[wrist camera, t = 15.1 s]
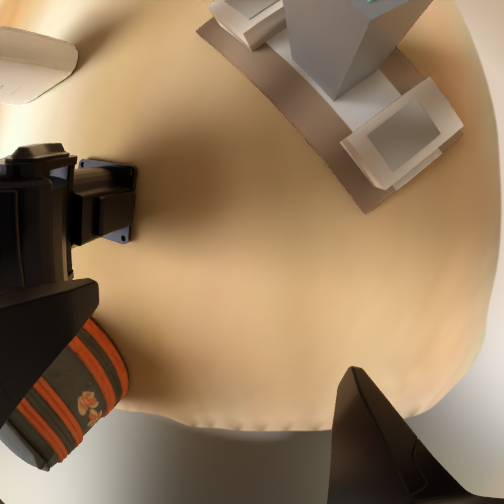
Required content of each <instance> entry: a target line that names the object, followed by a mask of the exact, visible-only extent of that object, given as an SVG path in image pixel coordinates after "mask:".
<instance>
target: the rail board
mask: <svg viewBox="0 0 504 504" xmlns="http://www.w3.org/2000/svg"><path fill="white" fill-rule="evenodd" d="M207 8H208V9H209V11H210V12H211V13H212V15H213V16H214V17H213V18H211V19H210V20H209V21H208V22H206V23H205V24H204V25H203V26H201V27H200V28H199V29H198V30H197V31H196V32H197V33H198V35H199V36H201V37H202V38H203V39H204V40H206V41H207V42H208V43H209V44H210V45H212V46H213V47H214V48H215V49H216V50H217V51H219V52H220V53H221V54H222V55H223V56H224V57H225V58H226V59H228V60H229V61H230V62H231V63H232V64H233V65H234V66H235V67H236V68H237V69H239V70H240V71H241V72H242V73H243V74H244V75H245V76H246V77H247V78H248V79H249V80H250V81H251V82H252V83H253V84H254V85H255V86H256V87H257V88H258V89H259V90H260V91H261V92H262V93H263V94H264V95H265V96H266V97H267V98H268V99H269V100H270V101H271V102H272V103H273V104H274V105H275V106H276V107H277V108H278V109H279V110H280V111H281V112H282V113H283V114H284V116H285V117H286V118H287V119H288V120H289V121H290V122H291V123H292V124H293V125H294V127H295V128H296V129H297V130H298V131H299V132H300V133H301V134H302V136H303V137H304V138H305V139H306V140H307V141H308V142H309V144H310V145H311V146H312V147H313V148H314V150H315V151H316V152H317V153H318V154H319V156H320V157H321V158H322V159H323V160H324V162H325V163H326V164H327V165H328V167H329V168H330V169H331V170H332V172H333V173H334V174H335V175H336V177H337V178H338V179H339V181H340V182H341V183H342V185H343V186H344V187H345V188H346V190H347V191H348V192H349V194H350V195H351V197H352V198H353V199H354V201H355V202H356V203H357V205H358V206H359V208H360V209H361V210H362V212H363V213H364V214H365V215H366V214H367V213H368V212H369V211H371V210H372V209H373V208H375V207H376V206H377V205H378V204H380V203H381V202H382V201H384V200H385V199H386V198H387V197H389V196H390V195H391V194H392V193H394V192H395V191H397V190H399V189H400V188H401V187H402V186H404V185H405V184H406V183H407V182H409V181H410V180H411V179H412V178H413V177H415V176H416V175H417V174H418V173H420V172H421V171H422V170H423V169H424V168H426V167H427V166H428V165H429V164H430V163H432V162H433V161H434V160H435V159H436V158H438V157H439V156H440V155H441V154H442V152H444V151H445V150H446V149H447V148H448V147H449V146H451V145H452V144H453V143H454V142H455V141H456V140H458V139H459V138H460V137H461V136H462V133H461V131H460V129H461V128H462V127H463V126H464V125H463V123H462V122H461V120H460V118H459V117H458V115H457V114H456V112H455V111H454V109H453V107H452V106H451V105H450V103H449V102H448V100H447V99H446V97H445V96H444V94H443V93H442V92H441V90H440V89H439V88H438V86H437V85H436V84H435V82H434V81H433V80H432V78H431V77H430V76H429V77H428V78H426V79H424V78H423V77H422V75H421V74H420V73H419V72H418V71H417V69H416V68H415V67H414V66H413V65H412V63H411V62H410V61H409V60H408V59H407V58H406V57H405V56H404V54H403V53H402V52H401V51H400V50H399V49H398V48H397V47H395V49H394V50H393V51H392V52H391V54H390V55H389V56H388V57H387V59H386V60H385V61H384V63H383V64H382V65H381V66H380V68H379V69H378V70H377V71H376V72H375V73H373V74H372V75H370V76H369V77H368V78H366V79H365V80H363V81H362V82H360V83H359V84H357V85H356V86H355V87H353V88H352V89H350V90H349V91H348V92H346V93H345V94H343V95H342V96H341V97H339V98H338V99H336V100H335V101H334V102H333V101H332V99H331V98H330V97H329V96H328V95H327V94H326V93H325V92H324V91H323V90H322V89H321V87H320V86H319V85H318V84H317V83H316V82H315V81H314V80H313V79H312V78H311V77H310V76H309V75H308V74H307V73H306V72H305V71H304V70H303V69H302V68H301V67H300V66H299V65H298V64H297V63H296V62H295V61H293V60H292V56H291V49H290V43H289V36H288V30H287V24H286V18H285V12H284V6H283V1H282V0H216V1H214V2H213V3H212V4H210V5H209V6H208V7H207Z"/></svg>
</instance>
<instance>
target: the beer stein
mask: <svg viewBox="0 0 504 504" xmlns="http://www.w3.org/2000/svg"><path fill="white" fill-rule="evenodd" d="M128 385H129V377H128V371H127V368H126V365H125V363H124V362H123V360H122V357H121V356H120V354H119V353H118V351H117V349H116V347H115V346H114V344H113V343H112V342H111V340H110V339H109V337H108V336H107V335H106V334H105V332H104V331H103V330H102V329H101V328H100V327H99V326H97V325H96V324H95V323H94V322H93V321H92V320H91V319H90V318H89V319H88V320H87V322H86V323H85V324H84V326H83V327H82V329H81V330H80V331H79V333H78V334H77V335H76V336H75V337H74V339H73V340H72V341H71V342H70V343H69V344H68V345H67V347H66V348H65V349H64V350H63V351H62V352H61V353H60V355H59V356H58V357H57V358H56V359H55V360H54V362H53V363H52V364H51V365H50V366H49V367H48V369H47V370H46V371H45V372H44V373H43V375H42V376H41V377H40V378H39V379H38V381H37V382H36V383H35V384H34V386H33V387H32V388H31V389H30V391H29V392H28V393H27V394H26V396H25V397H24V398H23V400H22V401H21V402H20V403H19V405H18V406H17V407H16V408H15V410H14V412H13V413H12V414H11V416H10V417H9V418H8V420H7V421H6V423H5V424H4V425H3V427H2V428H1V430H0V440H1V441H2V442H3V443H4V444H5V445H6V446H7V447H8V448H9V449H10V450H11V451H12V452H14V453H15V454H16V455H17V456H18V457H20V458H21V459H22V460H24V461H25V462H27V463H28V464H30V465H32V466H35V467H37V468H38V469H41V470H44V471H49V470H50V468H51V467H52V466H54V465H55V464H56V463H57V462H58V463H60V462H62V461H63V459H65V458H66V457H67V455H68V454H70V453H71V451H73V450H74V449H75V448H76V447H77V446H78V445H79V444H80V443H81V442H82V440H83V436H84V435H85V434H86V433H87V432H88V431H89V430H90V428H92V426H93V425H94V424H95V423H96V422H97V421H98V420H99V419H100V418H102V417H105V416H106V415H107V414H108V413H109V412H110V411H111V410H112V409H113V408H114V407H115V406H116V404H117V403H118V402H119V401H120V400H121V399H122V398H123V397H124V396H125V395H126V394H127V391H128Z"/></svg>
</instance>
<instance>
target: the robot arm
mask: <svg viewBox="0 0 504 504" xmlns="http://www.w3.org/2000/svg"><path fill="white" fill-rule="evenodd" d="M69 154H70V153H67V152H66V151H64V148H63V146H62V144H61V143H43V144H33V145H27V146H22V147H19V148H18V149H17V150H16V151H15V152H14V153H13V154H12V155H9V156H7V157H5V158H3V159H0V430H1V428H2V427H3V425H4V424H5V423H6V421H7V420H8V418H9V417H10V416H11V414H12V413H13V412H14V410H15V408H16V407H17V406H18V405H19V403H20V402H21V401H22V400H23V398H24V397H25V396H26V394H27V393H28V392H29V391H30V389H31V388H32V387H33V386H34V384H35V383H36V382H37V381H38V379H39V378H40V377H41V376H42V375H43V373H44V372H45V371H46V370H47V369H48V367H49V366H50V365H51V364H52V363H53V362H54V360H55V359H56V358H57V357H58V356H59V355H60V353H61V352H62V351H63V350H64V349H65V348H66V347H67V345H68V344H69V343H70V342H71V341H72V340H73V339H74V337H75V336H76V335H77V334H78V333H79V331H80V330H81V329H82V327H83V326H84V324H85V323H86V322H87V320H88V319H89V318H90V316H91V315H92V314H93V312H94V311H95V310H96V308H97V307H98V305H99V286H98V283H97V282H96V281H94V280H92V279H90V278H85V279H77V280H72V279H73V278H74V273H73V270H72V258H71V249H72V248H75V247H77V246H81V245H84V244H86V243H88V242H91V241H93V240H95V239H97V238H100V237H102V238H106V239H109V240H112V241H115V242H118V243H121V244H126V243H128V242H130V239H131V227H132V223H133V214H134V204H135V187H136V179H137V168H136V167H135V166H133V165H127V164H120V163H113V162H106V161H98V160H90V159H82V160H80V162H79V167H78V169H75V164H77V156H75V155H69ZM83 164H84V165H83ZM130 170H132V174H130ZM124 236H125V238H126V240H125V239H124ZM331 442H332V443H331V461H330V477H329V489H328V499H327V504H504V499H503V498H492V497H483V496H477V495H474V494H471V493H470V492H468V491H466V490H465V489H464V488H463V487H462V486H461V485H460V484H459V483H458V482H457V481H456V480H455V479H454V478H453V477H452V476H451V475H450V474H449V473H448V472H447V471H446V470H445V469H444V467H443V466H442V465H441V464H440V463H439V462H438V461H437V460H436V459H435V458H434V457H433V455H432V454H431V453H430V452H429V451H428V450H427V448H426V447H425V446H424V445H423V443H422V442H421V441H420V440H419V439H417V436H416V435H415V433H414V432H413V431H412V429H411V428H410V427H409V426H408V424H407V423H406V422H405V421H404V419H403V418H402V417H401V416H400V414H399V413H398V412H397V411H396V409H395V408H394V407H393V406H392V404H391V403H390V402H389V401H388V399H387V398H386V397H385V396H384V394H383V393H382V392H381V391H380V390H379V388H378V387H377V386H376V385H375V383H374V382H373V381H372V380H371V378H370V377H369V376H368V375H367V373H366V372H365V371H364V370H363V369H362V368H359V367H355V366H351V367H349V368H348V370H347V371H346V373H345V375H344V376H343V378H342V380H341V381H340V383H339V386H338V389H337V397H336V404H335V412H334V418H333V425H332V441H331ZM0 504H4V503H3V502H2V501H1V499H0Z"/></svg>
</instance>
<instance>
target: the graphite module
mask: <svg viewBox="0 0 504 504" xmlns="http://www.w3.org/2000/svg"><path fill="white" fill-rule="evenodd" d="M282 1H283V6H284V12H285V18H286V24H287V30H288V36H289V43H290V49H291V56H292V60H293V61H295V62H296V63H297V64H298V65H299V66H300V67H301V68H302V69H303V70H304V71H305V72H306V73H307V74H308V75H309V76H310V77H311V78H312V79H313V80H314V81H315V82H316V83H317V84H318V85H319V86H320V87H321V89H322V90H323V91H324V92H325V93H326V94H327V95H328V96H329V97H330V98H331V99H332V101H333V102H334V101H335V100H336V99H338V98H339V97H341V96H342V95H343V94H345V93H346V92H348V91H349V90H350V89H352V88H353V87H355V86H356V85H357V84H359V83H360V82H362V81H363V80H365V79H366V78H368V77H369V76H370V75H372V74H373V73H375V72H376V71H377V70H378V69H379V68H380V66H381V65H382V64H383V63H384V61H385V60H386V59H387V57H388V56H389V55H390V54H391V52H392V51H393V50H394V49H395V47H396V46H397V45H398V44H399V42H400V41H401V40H402V38H403V37H404V36H405V35H406V33H407V32H408V31H409V30H410V28H411V27H412V26H413V25H414V23H415V22H416V21H417V20H418V18H419V17H420V16H421V15H422V13H423V12H424V11H425V10H426V8H427V7H428V6H429V5H430V4H431V2H432V1H433V0H282Z"/></svg>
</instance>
